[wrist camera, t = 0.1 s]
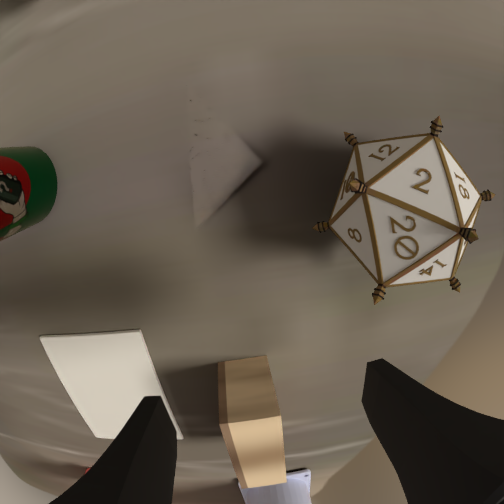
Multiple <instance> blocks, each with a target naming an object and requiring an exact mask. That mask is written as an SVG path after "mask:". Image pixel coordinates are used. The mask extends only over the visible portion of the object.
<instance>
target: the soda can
mask: <svg viewBox="0 0 504 504" xmlns="http://www.w3.org/2000/svg"><path fill="white" fill-rule="evenodd" d="M56 194H57V176H56V172H55V168H54V166H53V163H52V161H51V160H50V158H49V157H48V156H47V154H46V153H45V152H43V151H42V150H40V149H39V148H36V147H31V146H28V147H7V148H0V242H1V241H3V240H4V239H6V238H8V237H10V236H12V235H14V234H16V233H18V232H20V231H22V230H24V229H26V228H28V227H30V226H33V225H35V224H37V223H39V222H40V221H42V220H43V219H44V218H45V217H46V216H47V215H48V214H49V213H50V211H51V209H52V207H53V205H54V202H55V199H56Z"/></svg>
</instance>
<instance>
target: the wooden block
mask: <svg viewBox="0 0 504 504" xmlns="http://www.w3.org/2000/svg"><path fill="white" fill-rule="evenodd" d="M218 399H219V425H220V428H221V431H222V434H223V437H224V440H225V443H226V446H227V449H228V452H229V455H230V458H231V461H232V464H233V467H234V469H235V472H236V475H237V478H238V480H239V483H240V486H241V489H245V488H253V487H261V486H268V485H274V484H280V483H286V482H287V479H286V467H285V456H284V444H283V433H282V422H281V414H280V410H279V406H278V402H277V397H276V393H275V389H274V385H273V381H272V376H271V372H270V368H269V364H268V360H267V355H265V356H259V357H252V358H246V359H239V360H231V361H224V362H218Z"/></svg>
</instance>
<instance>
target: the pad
mask: <svg viewBox="0 0 504 504" xmlns="http://www.w3.org/2000/svg"><path fill="white" fill-rule="evenodd" d="M39 338H40V340H41V342H42V345H43V347H44V349H45V351H46V353H47V355H48V357H49V359H50V361H51V363H52V365H53V367H54V369H55V371H56V373H57V374H58V376H59V378H60V380H61V382H62V384H63V385H64V387H65V389H66V391H67V392H68V394H69V396H70V398H71V399H72V401H73V403H74V404H75V406H76V407H77V409H78V411H79V412H80V414H81V415H82V417H83V418H84V420H85V421H86V423H87V424H88V426H89V427H90V429H91V430H92V432H93V433H94V435H95V436H96V437H97V438H110V439H115V438H116V436H117V435H118V434H119V432H120V431H121V430H122V428H123V427H124V425H125V424H126V422H127V421H128V419H129V418H130V416H131V415H132V414H133V412H134V411H135V409H136V408H137V406H138V405H139V403H140V402H141V400H142V399H143V397H144V396H161V397H162V400H163V402H164V404H165V407H166V409H167V411H168V413H169V416H170V418H171V420H172V422H173V424H174V427H175V429H176V431H177V439H183V435H182V433H181V430H180V428H179V426H178V424H177V422H176V419H175V417H174V415H173V413H172V410H171V408H170V406H169V403H168V401H167V399H166V396H165V394H164V391H163V389H162V386H161V384H160V381H159V379H158V376H157V374H156V371H155V368H154V366H153V363H152V360H151V357H150V355H149V352H148V349H147V346H146V343H145V340H144V338H143V335H142V332H141V329H139V330H127V331H115V332H102V333H86V334H68V335H44V336H40V337H39Z"/></svg>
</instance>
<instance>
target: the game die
mask: <svg viewBox="0 0 504 504" xmlns="http://www.w3.org/2000/svg"><path fill="white" fill-rule="evenodd" d="M431 123H432V125H431V126H430V128H431V133H427V134H418V135H410V136H402V137H395V138H388V139H381V140H374V141H368V142H362V143H358V142H357V140H356V137H354V134H350V133H347V132H344V134H345V140H346V141H348V143H349V145H350V144H351V145H352V146H353V150H352V153H351V156H350V160H349V163H348V166H347V169H346V172H345V175H344V178H343V181H342V184H341V187H340V190H339V193H338V196H337V199H336V202H335V205H334V207H333V210H332V213H331V216H330V219H329V222H324V221H323V222H322V223H320V222H317V224H316V225H315V226H314V227H313V228H312V229H315V230H317V231H319V232H320V233H321V231H324V232H325V231H326V230H327V229H331V230H332V231H333V232H334V234H335V235H336V236H337V237H338V238H339V239H340V240H341V241H342V243H343V244H344V245H345V246H346V247H347V248H348V249H349V251H350V252H351V253H352V254H353V255H354V256H355V258H356V259H357V260H358V261H359V262H360V263H361V265H362V266H363V267H364V268H365V269H366V270H367V272H368V273H369V274H370V275H371V276H372V278H373V279H374V280H375V281H376V282H377V284H378V286H377V288H375V289H374V290H375V291H374V293H372V296H373V299H374V305H375V304H377V303H378V302H379V301H381V300H383V299H384V298H383V297H384V294H386V293H385V288H386V287H394V286H403V285H412V284H420V283H428V282H436V281H443V280H449V281H450V286H452V290H456V291H458V292H460V285H461V284H460V282H458V281H459V280H458V279H456V278H455V277H454V276H455V274H456V271H457V269H458V266H459V264H460V261H461V259H462V256H463V254H464V251H465V249H466V246H467V243H468V242H469V243H470V244H471V243H472V242H473V241H475V240H477V239H478V236H477V234H476V229H473V226H474V223H475V220H476V217H477V214H478V211H479V208H480V204H481V201H482V200H484V201H491V199H492V198H493V197H494V196H495V194H493V193H492V192H490V191H489V190H487V191H484V192H483V193H479V191H478V190H477V188H476V187H475V185H474V184H473V183H472V181H471V180H470V178H469V177H468V175H467V174H466V173H465V171H464V170H463V168H462V167H461V166H460V164H459V163H458V162H457V160H456V159H455V158H454V156H453V155H452V154H451V153H450V151H449V150H448V149H447V148H446V146H445V145H444V144H443V143H442V141H441V140H440V139H439V138H438V134H439V133H440V132H442V131H441V128H443V126H442V123H441V119H440V116H438V117H437V118H436V119H435V120H434V121H431Z"/></svg>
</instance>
